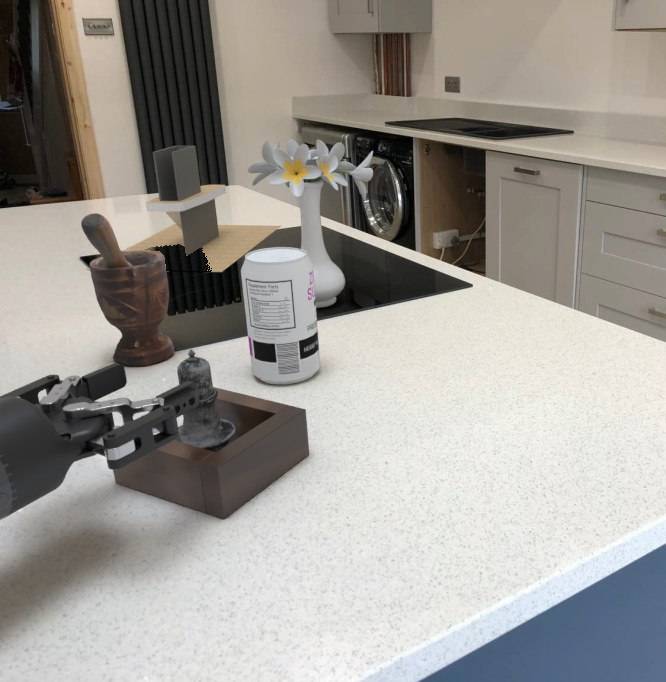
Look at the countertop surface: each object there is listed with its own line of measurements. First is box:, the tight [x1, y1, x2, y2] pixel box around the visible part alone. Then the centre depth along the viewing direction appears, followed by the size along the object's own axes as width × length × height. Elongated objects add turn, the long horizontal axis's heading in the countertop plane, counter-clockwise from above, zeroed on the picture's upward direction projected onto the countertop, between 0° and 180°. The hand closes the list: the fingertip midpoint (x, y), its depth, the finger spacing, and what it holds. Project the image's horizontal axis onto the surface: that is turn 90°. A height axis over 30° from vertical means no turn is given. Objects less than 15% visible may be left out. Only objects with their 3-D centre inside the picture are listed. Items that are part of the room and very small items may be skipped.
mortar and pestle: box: [80, 212, 175, 367], centre depth 90 cm, size 12×9×20 cm
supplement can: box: [240, 246, 321, 385], centre depth 88 cm, size 8×8×15 cm
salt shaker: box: [175, 349, 236, 453], centre depth 68 cm, size 6×6×12 cm
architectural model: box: [86, 145, 281, 273], centre depth 147 cm, size 38×25×20 cm, turn 177°
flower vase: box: [247, 139, 374, 309], centre depth 112 cm, size 13×18×25 cm
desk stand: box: [112, 386, 310, 520], centre depth 69 cm, size 13×12×5 cm
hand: (157, 382), depth 63 cm, fingers open, 8 cm apart
